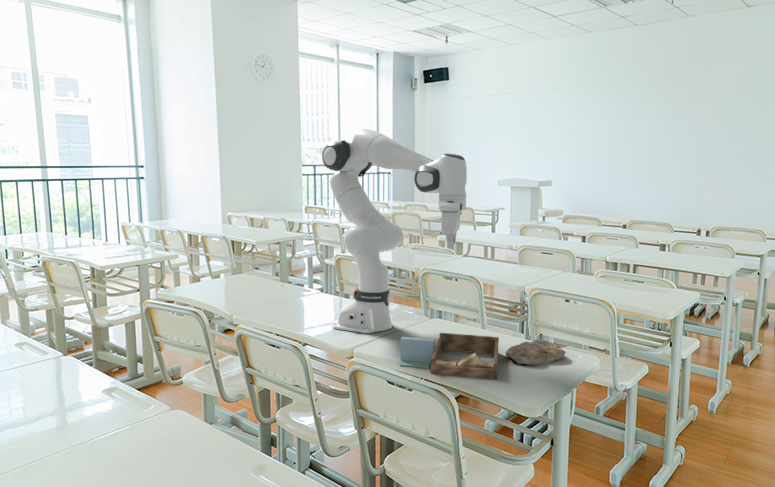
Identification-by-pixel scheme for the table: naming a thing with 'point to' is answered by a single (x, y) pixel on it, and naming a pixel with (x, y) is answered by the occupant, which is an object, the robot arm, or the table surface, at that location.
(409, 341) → the sheet
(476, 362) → the offcut top
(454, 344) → the rack
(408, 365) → the pad
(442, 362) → the offcut
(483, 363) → the offcut
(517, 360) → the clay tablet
